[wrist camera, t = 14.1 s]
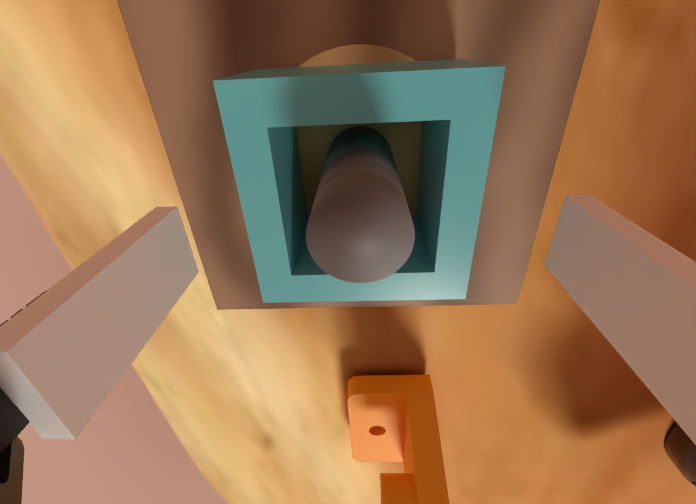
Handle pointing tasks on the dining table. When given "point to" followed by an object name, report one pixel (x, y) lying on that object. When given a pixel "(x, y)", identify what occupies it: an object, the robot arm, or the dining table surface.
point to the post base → (407, 25)
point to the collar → (356, 108)
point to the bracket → (398, 435)
